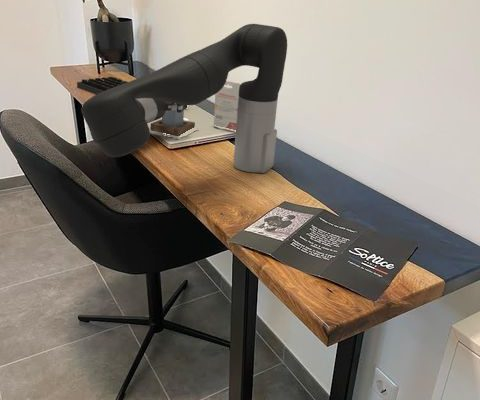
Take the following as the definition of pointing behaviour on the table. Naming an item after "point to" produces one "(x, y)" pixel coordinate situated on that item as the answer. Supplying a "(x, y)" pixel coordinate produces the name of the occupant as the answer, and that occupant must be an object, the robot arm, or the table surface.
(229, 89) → the ink cartridge box
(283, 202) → the table surface
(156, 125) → the brown square frame
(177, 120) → the grey rectangular bar
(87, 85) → the computer keyboard
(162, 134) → the mat
